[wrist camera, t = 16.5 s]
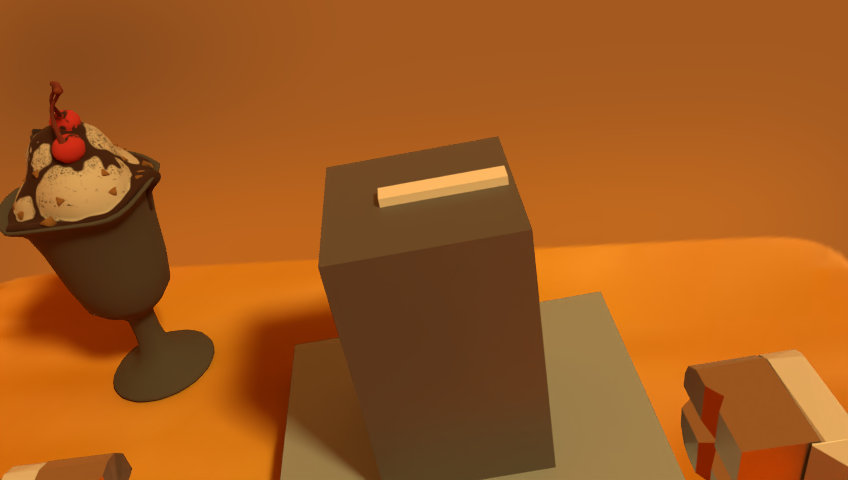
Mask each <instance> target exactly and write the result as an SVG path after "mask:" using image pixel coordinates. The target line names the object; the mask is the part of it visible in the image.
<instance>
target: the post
mask: <svg viewBox="0 0 848 480" xmlns="http://www.w3.org/2000/svg"><path fill="white" fill-rule="evenodd" d="M539 303H540V313H541V323H542V333H543V343H544V353H545V363H546V374H547V384H548V394H549V404H550V414H551V424H552V434H553V444H554V454H555V464H556V467H555V468H549V469H543V470H537V471H531V472H525V473H519V474H513V475H507V476H501V477H495V478H489V479H483V480H685V478H684V475H683V473H682V471H681V469H680V467H679V464H678V462H677V460H676V458H675V456H674V453H673V451H672V449H671V447H670V444H669V442H668V440H667V438H666V436H665V433H664V431H663V429H662V427H661V425H660V422H659V420H658V418H657V416H656V413H655V411H654V409H653V407H652V405H651V402H650V400H649V398H648V396H647V394H646V391H645V389H644V387H643V385H642V382H641V380H640V378H639V376H638V374H637V371H636V369H635V367H634V365H633V363H632V360H631V358H630V356H629V354H628V351H627V349H626V347H625V345H624V343H623V340H622V338H621V336H620V334H619V332H618V329H617V327H616V325H615V323H614V320H613V318H612V316H611V314H610V312H609V309H608V307H607V305H606V303H605V301H604V298H603V296H602V294H601V292H595V293H589V294H583V295H578V296H572V297H566V298H561V299H555V300H549V301H543V302H539ZM280 480H382V478H381V475H380V472H379V468H378V465H377V462H376V458H375V455H374V452H373V448H372V445H371V442H370V438H369V435H368V432H367V428H366V425H365V422H364V418H363V415H362V412H361V408H360V405H359V402H358V398H357V395H356V392H355V388H354V385H353V382H352V378H351V375H350V372H349V368H348V365H347V362H346V358H345V355H344V352H343V348H342V345H341V342H340V338H339V337H338V338H332V339H326V340H321V341H315V342H309V343H303V344H298V345H295V350H294V359H293V368H292V377H291V386H290V395H289V404H288V413H287V423H286V432H285V441H284V450H283V459H282V468H281V477H280Z"/></svg>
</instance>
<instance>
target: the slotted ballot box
mask: <svg viewBox="0 0 848 480" xmlns="http://www.w3.org/2000/svg"><path fill="white" fill-rule="evenodd" d="M322 217H323V218H322V228H321V241H320V253H319V265H318V268H319V272H320V275H321V278H322V282H323V285H324V288H325V292H326V295H327V298H328V302H329V305H330V308H331V312H332V315H333V318H334V322H335V325H336V328H337V332H338V335H339V338H340V342H341V345H342V348H343V352H344V355H345V358H346V362H347V365H348V368H349V372H350V375H351V378H352V382H353V385H354V388H355V392H356V395H357V398H358V402H359V405H360V408H361V412H362V415H363V418H364V422H365V425H366V428H367V432H368V435H369V438H370V442H371V445H372V448H373V452H374V455H375V458H376V462H377V465H378V468H379V472H380V475H381V478H382V480H483V479H489V478H495V477H501V476H507V475H513V474H519V473H525V472H531V471H537V470H543V469H549V468H555V467H556V464H555V454H554V444H553V434H552V424H551V414H550V404H549V394H548V384H547V374H546V363H545V353H544V343H543V333H542V323H541V313H540V303H539V293H538V283H537V273H536V263H535V253H534V244H533V233H532V228H531V225H530V222H529V219H528V217H527V214H526V212H525V209H524V206H523V203H522V200H521V198H520V195H519V192H518V189H517V187H516V184H515V182H514V179H513V176H512V173H511V170H510V168H509V165H508V162H507V159H506V156H505V154H504V151H503V148H502V146H501V143H500V140H499V137H493V138H487V139H482V140H476V141H471V142H465V143H460V144H454V145H449V146H443V147H437V148H432V149H426V150H421V151H415V152H410V153H404V154H399V155H394V156H388V157H383V158H377V159H371V160H367V161H361V162H355V163H350V164H344V165H338V166H333V167H328V168H326V180H325V192H324V204H323V216H322Z"/></svg>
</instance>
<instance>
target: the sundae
mask: <svg viewBox="0 0 848 480" xmlns="http://www.w3.org/2000/svg"><path fill="white" fill-rule="evenodd" d="M50 85H51V86H52V92H51V94H50V100H49V101H50V120H49V125H50V126H47V127H46V128H44V129H33V130H32V131H31V132H30V138H31V141H30V144H29V146H28V148H27V150H26V152H25V153H26V154H25V155H26V168H27V170H26V178H25V179H24V180H23V181H24V183H23V185H22V186H21V187H19V188H17V189H15V190H14V191H13V192H11V193H10V194H9V195H8V196H7V197H6V198H5V199H4V200H3V202H2V203H1V204H0V231H1V232H2V233H3V234H4V235H5V236H9V237H24V238H26V239H29V240H30V241H31V243H32V244H33V245H34V246H35V247H36V248H37V249H38V250H39V251H40V252H41V253H42V255H43V256H44V257H45V258H46V260H47V261H48V262H49V264H50V265H51V267H52V268H53V269H54V271H55V272H56V273H57V275H58V276H59V278H60V279H61V280H62V282H63V283H64V284H65V286H66V287H67V289H68V290H69V291H70V292H71V293H72V294H73V295H74V297H75V298H76V299H77V300H78V301H79V302H80V303H81V304H82V305H83V306H84V308H85V309H86V310H87V311H88V312H89V313H90V314H92V315H95V316H99V317H103V318H107V319H113V320H126V321H128V322H129V323H130V325H131V327H132V329H133V331H134V333H135V335H136V338H137V341H138V344H139V345H138V346H137V347H135V348H134V349H133V350H132V351H131V352H129V353H128V354H127V355H126V357H125V358H124V359H123V360H122V361H121V363H120V365H119V367H118V368H117V371H116V373H115V375H114V389H115V390H116V392H117V393H118V394H119V395H120V396H121V397H122V398H125V399H128V400H132V401H137V402H147V401H155V400H160V399H163V398H166V397H169V396H172V395H174V394H176V393H179V392H180V391H182V390H184V389H185V388H187V387H189V386H190V385H191V384H193V383H194V382H196V381H197V380H198V379H199V378H200V377H201V376H202V375H203V373H204V372H205V371H206V370H207V368H208V367H209V365H210V363H211V361H212V359H213V355H214V345H213V342H212V340H211V339H210V338H209V337H208V336H206V335H205V334H203V333H202V332H199V331H195V330H178V331H170V332H165V331H164V330H163V328H162V327H161V325H160V324H159V322H158V319H157V317H156V315H155V313H154V310H153V307H154V306H155V305H156V304H157V303H158V302H159V300H160V299H161V298H162V296H163V294H164V291H165V289H166V287H167V285H168V282H169V280H170V270H169V264H168V258H167V252H166V247H165V244H164V240H163V236H162V233H161V229H160V225H159V222H158V218H157V214H156V211H155V206H154V200H153V195H152V190H153V189H154V187H155V186H156V185H157V183H158V182H159V181H160V178H161V175H160V173H159V168H160V163H158V162H157V161H155V160H153V159H151V158H149V157H147V156H145V155H143V154H139V153H136V152H131V151H126V149H121V148H119V147H118V145H114V144H112V143H111V141H110V140H109V139H108V138H107V137H106V136H105V135H104V134H103V133H102V132H101V131H100V130H99V129H97V128H96V127H94V126H92V125H89V124H87V123H83V122H81V120H80V117H79V116H78V114H76V113H75V112H73V111H72V110H61V111H59V110H58V109H57V108H56V107H55V103H56V101H57V100H58V98H59V96H60V95H61V94H62V93H63V89H62V88H61V86H60V84H59V83H58V82H54V81H52V82H50ZM54 94H56V96H55V98H54V100H53V96H54ZM54 112H55V114H54Z"/></svg>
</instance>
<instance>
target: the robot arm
mask: <svg viewBox="0 0 848 480" xmlns="http://www.w3.org/2000/svg"><path fill="white" fill-rule="evenodd" d="M684 387H685V389H686V391H687V393H688V395H689V397H690V400H689V401H688V402H687V403H686V404H685V405H684V406H683V407H682V415H681V427H682V434H683V440H684V445H685V448H686V451H687V454H688V457H689V459H690V462H691V464H692V466H693V468H694V471H695V473H697V474H698V475H700V476H701V477H703V478H704V479H706V480H848V414H847V412H846V411H845V410H844V408H843V407H842V406H841V404H840V403H839V402H838V400H837V399H836V398H835V396H834V395H833V394H832V392H831V391H830V390H829V388H828V387H827V386H826V384H825V383H824V382H823V380H822V379H821V378H820V376H819V375H818V374H817V372H816V371H815V370H814V368H813V367H812V366H811V364H810V363H809V362H808V360H807V359H806V358H805V356H804V355H803V354H802V353H801V352H799V351H797V350H795V349H793V350H787V351H781V352H774V353H768V354H762V355H759V356H755V355H754V356H748V357H742V358H736V359H730V360H723V361H717V362H711V363H705V364H699V365H692V366H688V368H687V370H686V372H685V379H684ZM131 470H132V468H131V466H130V464H129V463H128V461H127V459H126V458H125V456H124V454H121V453H111V454H103V455H95V456H87V457H79V458H71V459H63V460H55V461H48V462H43V463H36V464H28V465H20V466H14V467H12V468H11V469H10V470H9V471H8V472H7V473H5V474H4V476H3V477H2V479H1V480H129V477H130V474H131Z"/></svg>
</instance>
